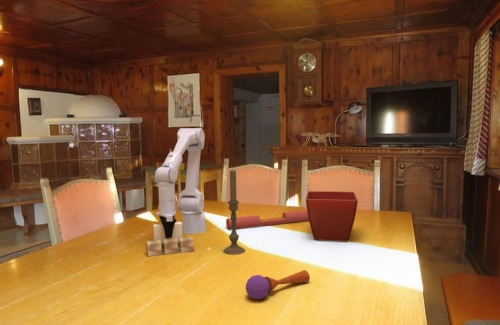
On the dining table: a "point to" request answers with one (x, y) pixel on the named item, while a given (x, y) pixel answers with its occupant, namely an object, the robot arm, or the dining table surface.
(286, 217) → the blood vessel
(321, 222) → the plant pot
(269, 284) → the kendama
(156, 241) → the offcut
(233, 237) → the candlestick holder
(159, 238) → the cream rectangular block
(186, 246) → the offcut
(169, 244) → the block
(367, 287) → the dining table surface
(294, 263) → the dining table surface
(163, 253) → the rack
